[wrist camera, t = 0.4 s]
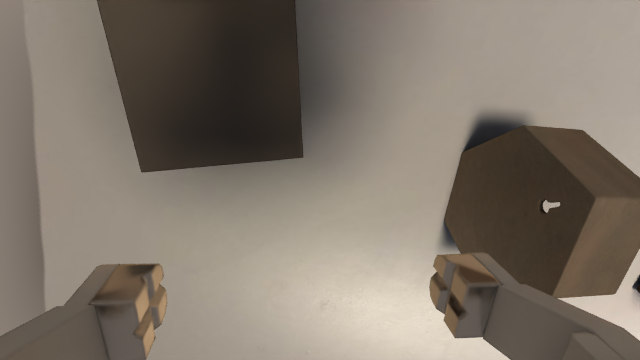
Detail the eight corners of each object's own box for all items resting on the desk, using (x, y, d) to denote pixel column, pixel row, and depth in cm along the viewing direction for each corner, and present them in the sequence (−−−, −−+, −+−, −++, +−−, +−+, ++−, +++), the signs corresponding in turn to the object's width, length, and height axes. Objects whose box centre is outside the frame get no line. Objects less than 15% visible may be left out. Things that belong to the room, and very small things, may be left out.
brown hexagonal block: (498, 280, 46) (690, 303, 26) (450, 282, 44) (617, 309, 24) (483, 164, 49) (643, 108, 30) (438, 162, 47) (576, 101, 28)
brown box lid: (83, -70, 20) (32, -107, 15) (289, -64, 22) (301, -95, 17) (144, 169, 25) (120, 195, 21) (301, 154, 28) (312, 176, 23)
